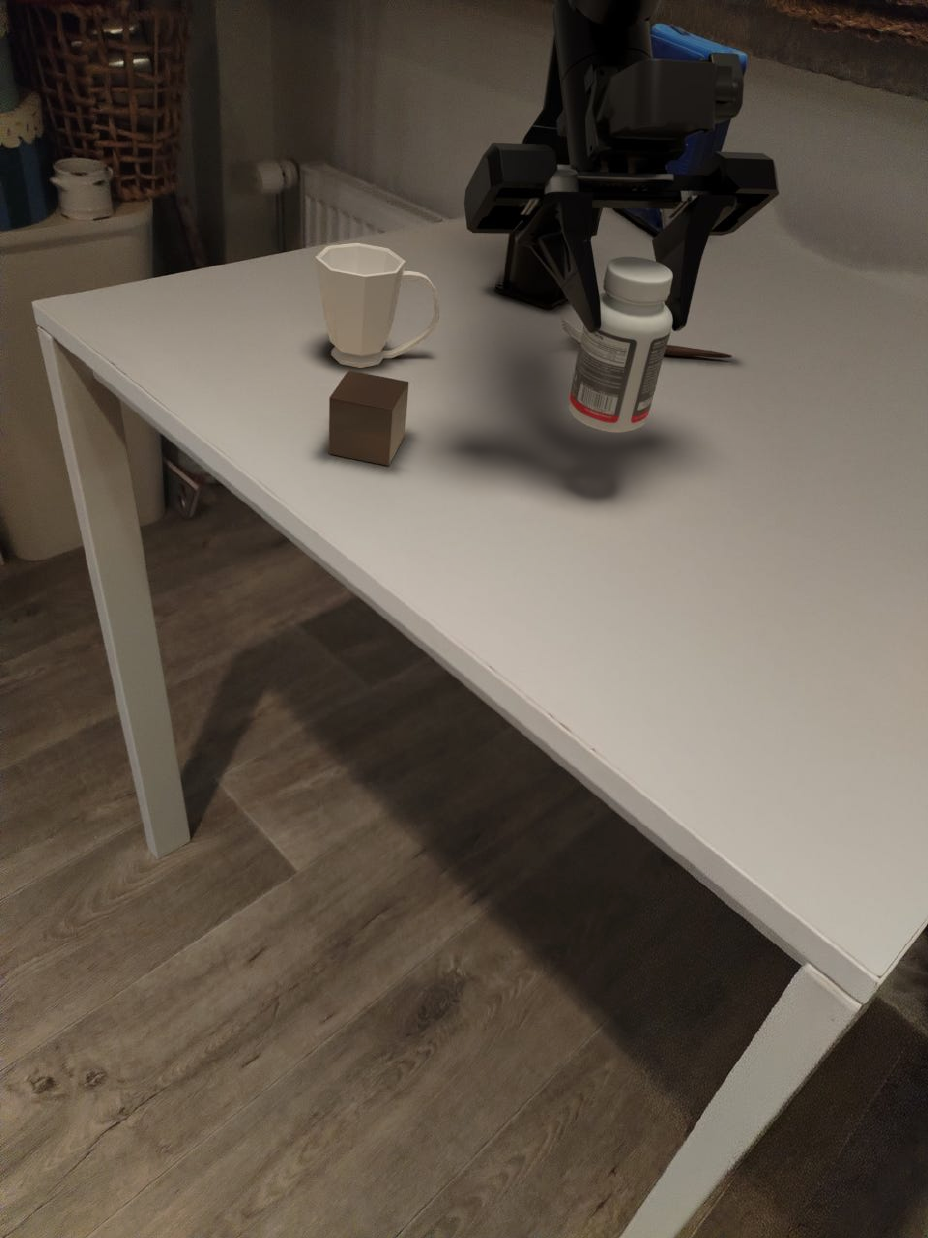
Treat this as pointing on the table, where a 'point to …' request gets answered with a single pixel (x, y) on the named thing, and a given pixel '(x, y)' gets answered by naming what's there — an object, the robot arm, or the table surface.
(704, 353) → the fork
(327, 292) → the cup
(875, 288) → the table surface
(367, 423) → the walnut block
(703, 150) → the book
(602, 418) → the pill bottle
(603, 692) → the table surface
